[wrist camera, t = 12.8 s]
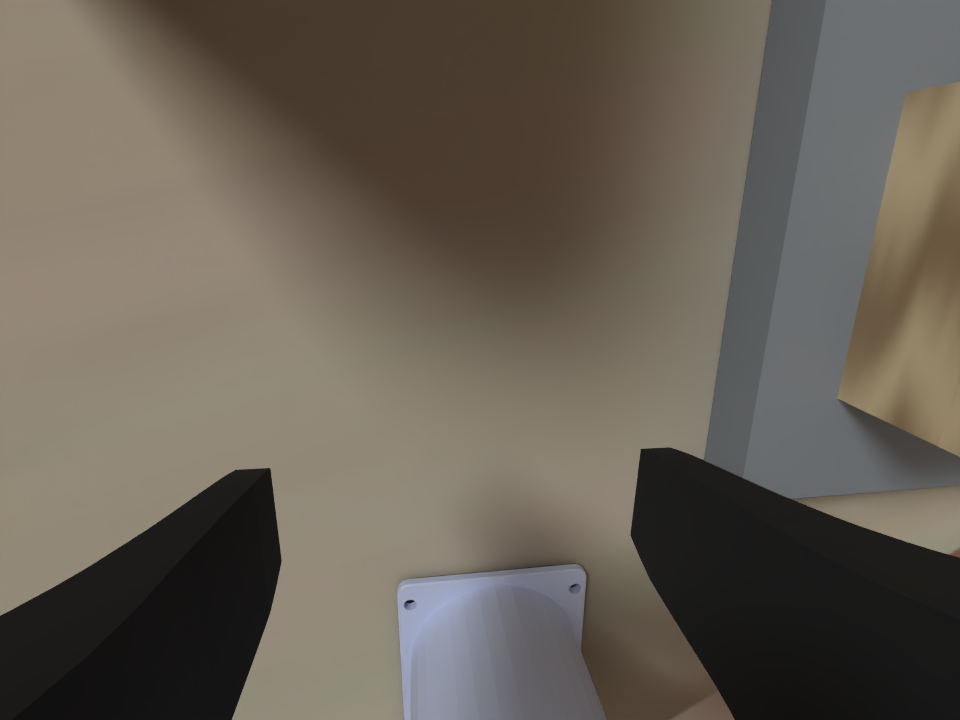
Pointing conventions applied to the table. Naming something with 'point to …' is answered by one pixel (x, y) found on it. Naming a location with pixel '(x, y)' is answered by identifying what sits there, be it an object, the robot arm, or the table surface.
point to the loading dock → (821, 247)
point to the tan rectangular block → (914, 281)
